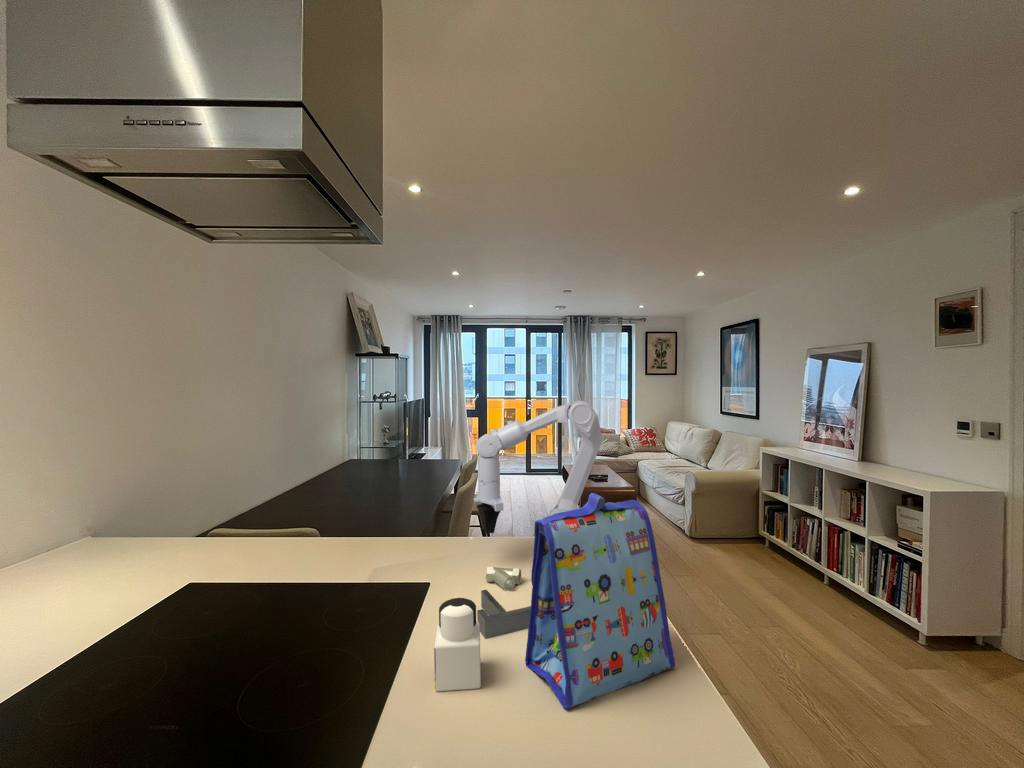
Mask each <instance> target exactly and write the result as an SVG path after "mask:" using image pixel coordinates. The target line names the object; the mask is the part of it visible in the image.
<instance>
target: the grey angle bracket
mask: <svg viewBox="0 0 1024 768" xmlns="http://www.w3.org/2000/svg"><path fill="white" fill-rule="evenodd" d="M480 599H481V600H480V601H481V609H478V610H477V609H476V622H479V624H480V635H481V636H482V637H483V638H484V639H485V640H486V639H490V638H493V637H498V636H501V635H505V634H506V635H507V634H509V633H513V632H517V631H521V630H526V629H528V627H529V618H530V608H531V605H529V606H525V607H521V608H520V607H519V608H517V609H512V610H508V611H506V609H505V608H504V607H503V606H502V605H501V604H500V603H499V602H498V600H496V599H495V597H494V596H493V595H492V594H491V593H490V592H489V591H488V590H487V589H483V590H481V592H480Z"/></svg>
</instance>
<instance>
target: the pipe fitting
mask: <svg viewBox="0 0 1024 768" xmlns="http://www.w3.org/2000/svg"><path fill="white" fill-rule="evenodd" d="M485 578H486V579H485V580H486V582H488V583H495V584H497V585H498V586H499V587H501V588H502V589H503V590H504V591H511V590H513V589H514V588H515V586H516V585H520V584H521V582H522V569H521V568H515V567H514V568H511V567H510V568H508V567H495V566H487V568H486V572H485Z"/></svg>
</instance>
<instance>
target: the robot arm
mask: <svg viewBox="0 0 1024 768" xmlns="http://www.w3.org/2000/svg"><path fill="white" fill-rule="evenodd" d="M568 420H569V422H571V423H572V424H573V426H574V427H576V428H577V431H578V433H579V435H580V437H581V438H582V439H581V440H582V441H581V443H580V445H579V448H578V452H577V453H576V456H575V459H574V461H573V464H572V467H571V469H570V471H569V474H568V476H567V480H566V482H565V485H564V488H563V490H562V492H561V496H560V497H559V498H558V500H557V502H556V504H555V506H554V507H553V508H552V509H551V510H550V511H549V513H548V516H551V515H553V514H556V513H561V512H566V511H570V510H575V509H578V505H579V502H580V500H581V497H582V494H583V492H584V489H585V487H586V484H587V482H588V479H589V477H590V474H591V471H592V469H593V467H594V463H595V462H596V459H597V455H598V454H599V450H600V448H601V446H602V442H603V435H602V430H601V426H600V422H599V416H598V414H597V411H595V409H594V408H593V406H592V405H591V404H590V403H588V402H587V401H584V400H579V399H578V400H575V401H572V402H571V403H566V404H562V405H559V406H556V407H553V408H551V409H549V410H547V411H545V412H543V413H541V414H539V415H537V416H535V417H533V418H530V419H528V420H526V421H525V422H522V421H519V420H514V421H513V420H509V421H507V423H506V425H504V426H502V427H499V428H497V429H495V428H493V429H491V430H490V432H489V433H485V434H483V435H482V436H480V437H479V438H478V439H477V440H476V441H477V442H476V445H475V447H476V452H477V453H478V454H477V455H478V456H477V459H478V460H477V461H478V462H477V491H476V495H475V497H474V498H473V501H474V502H476V503H481V504H477V505H476V509H477V510H478V512H479V514H480V518H481V520H482V525H483V526H482V527H483V530H484V533H485V534H495V530H496V526H497V522H498V518H499V516H500V513H501V511H504V502H502V497H501V479H500V478H501V472H500V471H501V468H500V467H501V466H500V465H501V464H500V451H505V450H509V449H510V448H512V447H514V446H517V445H520V444H521V443H523V442H526V440H527V438H528V435H529V434H531V433H534V432H536V431H538V430H541V429H544V428H546V427H548V426H551V425H553V424H555V423H561V424H568V423H569V422H568Z"/></svg>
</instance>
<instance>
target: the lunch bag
mask: <svg viewBox="0 0 1024 768" xmlns="http://www.w3.org/2000/svg"><path fill="white" fill-rule="evenodd" d="M533 533H534V534H533V535H534V538H533V539H534V540H533V541H534V543H533V555H532V567H531V575H530V576H531V585H532V588H531V600H530V606H531V608H530V618H529V627H528V628H527V640H526V649H525V659H524V662H525V663H524V664H525V666H526V668H528V669H529V670H530V671H531V672H534V673H536V674H537V675H538V676H540V677H541V678H542V679H545V680H546V682H547V684H548V685H549V687H550V689H551V690H552V692H553V693H554V695H555V696H556V698H557V699H558V701H559V702H560V705H562V706H561V707H562V708H563V709H565V710H568V709H571V708H574V707H575V706H578V705H581V704H584V703H586V702H590V701H592V700H594V699H597V698H598V697H601V696H604V695H607V694H610V693H612V692H614V691H617V690H619V689H622V688H625V687H627V686H630V685H632V684H635V683H637V682H640V681H643V680H645V679H648V678H650V677H652V676H655V675H657V674H660V673H662V672H665V671H668V670H669V669H674V668H675V667H676V659H675V655H674V649H673V644H672V641H671V640H672V639H671V634H670V628H669V627H670V626H669V622H668V613H667V606H666V600H665V595H664V588H663V583H662V578H661V571H660V570H661V569H660V565H659V559H658V553H657V545H656V541H655V536H654V535H655V534H654V532H653V528H652V523H651V520H650V516H649V513H648V511H647V509H646V507H645V506H644V505H643V504H642V503H641V502H639V501H637V500H635V499H630V500H623V501H617V502H611V501H610V502H609V501H608V502H606V500H605V498H604V497H602V496H601V495H599V494H597V493H595V492H591V493H590V494H589V495H588V500H587V502H586V503H585V504H584V505H583V506H582V507H578V508H577V509H575V510H570V511H566V512H561V513H556V514H553V515H551V516H549V515H548V516H545V517H543V518H541V519H538V520H534V532H533Z"/></svg>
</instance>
